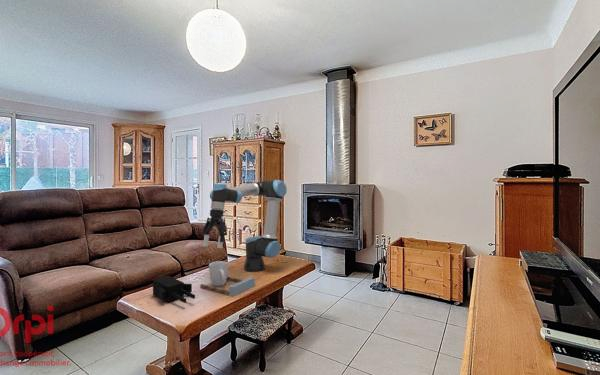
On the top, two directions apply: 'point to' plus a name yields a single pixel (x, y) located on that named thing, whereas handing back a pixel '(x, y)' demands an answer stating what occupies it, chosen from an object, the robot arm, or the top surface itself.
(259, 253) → the robot arm
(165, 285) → the black power adapter
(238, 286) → the stop
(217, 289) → the channel
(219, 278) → the mug
